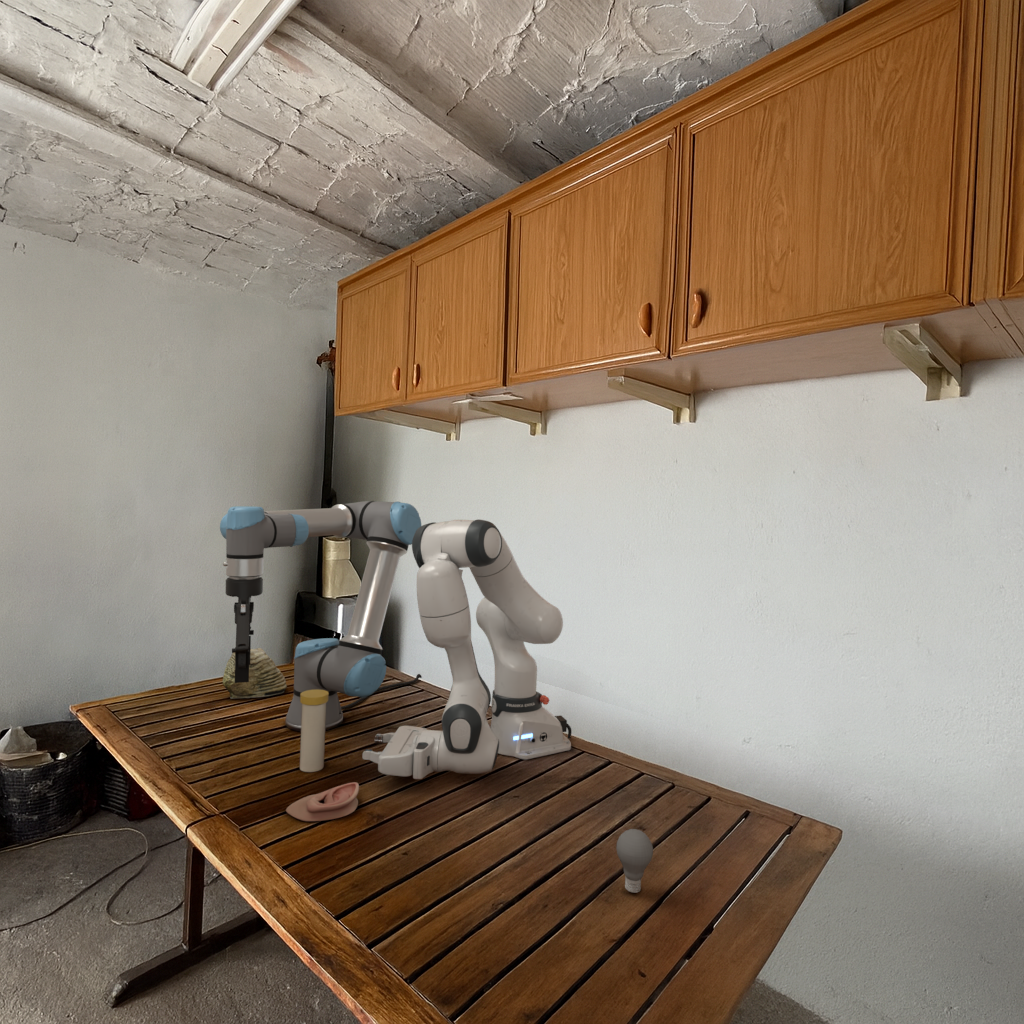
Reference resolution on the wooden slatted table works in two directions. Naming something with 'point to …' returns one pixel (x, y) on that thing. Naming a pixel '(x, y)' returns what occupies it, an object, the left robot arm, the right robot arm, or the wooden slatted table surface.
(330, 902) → the wooden slatted table surface
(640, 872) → the light bulb
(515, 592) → the right robot arm
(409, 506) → the left robot arm
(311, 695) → the lid
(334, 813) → the anatomical model
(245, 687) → the fossil
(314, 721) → the jar
